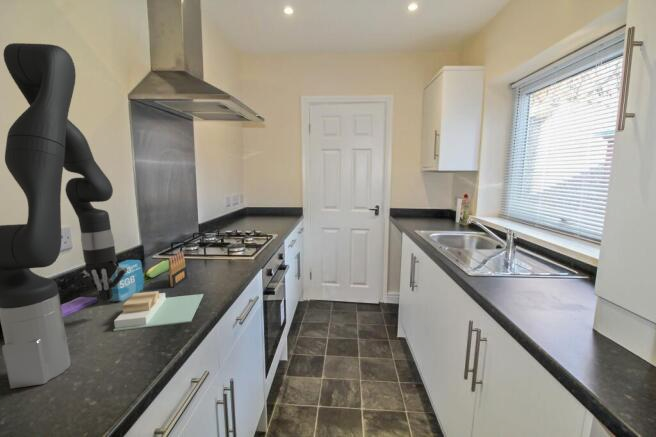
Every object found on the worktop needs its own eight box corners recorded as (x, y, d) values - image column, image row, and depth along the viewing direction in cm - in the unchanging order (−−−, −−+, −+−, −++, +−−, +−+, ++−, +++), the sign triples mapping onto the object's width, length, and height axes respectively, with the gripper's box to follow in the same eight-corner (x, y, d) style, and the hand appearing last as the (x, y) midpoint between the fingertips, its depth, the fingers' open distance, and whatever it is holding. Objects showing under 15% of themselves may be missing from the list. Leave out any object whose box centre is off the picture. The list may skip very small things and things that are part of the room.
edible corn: (174, 267, 139) (173, 258, 138) (149, 283, 119) (148, 272, 119) (163, 268, 139) (162, 258, 138) (136, 283, 119) (135, 273, 119)
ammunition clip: (174, 287, 114) (170, 257, 112) (169, 287, 114) (166, 257, 112) (187, 277, 124) (184, 250, 123) (183, 277, 124) (180, 250, 123)
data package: (119, 303, 101) (115, 269, 99) (107, 302, 102) (102, 269, 100) (145, 289, 113) (141, 258, 111) (134, 289, 113) (130, 258, 112)
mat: (190, 322, 87) (190, 320, 87) (113, 331, 83) (113, 329, 83) (203, 294, 106) (203, 293, 106) (141, 301, 102) (141, 300, 102)
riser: (146, 324, 85) (145, 317, 85) (115, 328, 84) (114, 320, 83) (165, 298, 103) (165, 292, 102) (140, 301, 101) (139, 295, 101)
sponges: (97, 302, 103) (97, 297, 103) (59, 320, 91) (58, 314, 91) (81, 301, 104) (80, 296, 104) (40, 318, 92) (39, 313, 92)
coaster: (149, 310, 89) (148, 302, 89) (123, 313, 88) (122, 305, 87) (159, 298, 98) (158, 291, 98) (135, 300, 96) (134, 293, 96)
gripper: (64, 250, 83) (74, 308, 86) (117, 247, 86) (126, 303, 89) (80, 244, 90) (89, 297, 93) (128, 240, 93) (136, 293, 96)
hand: (107, 300), depth 91 cm, fingers closed
